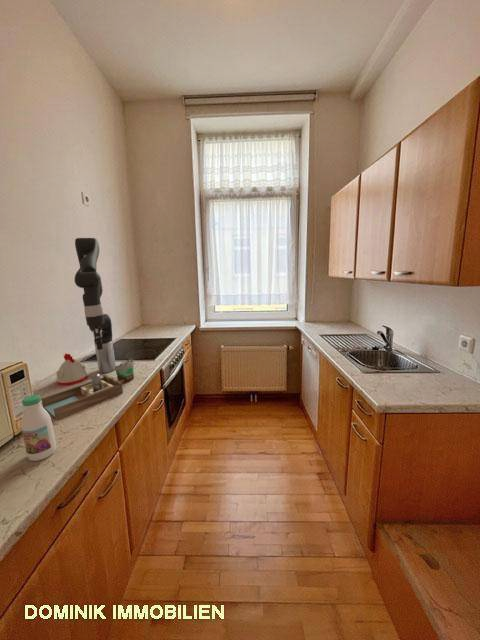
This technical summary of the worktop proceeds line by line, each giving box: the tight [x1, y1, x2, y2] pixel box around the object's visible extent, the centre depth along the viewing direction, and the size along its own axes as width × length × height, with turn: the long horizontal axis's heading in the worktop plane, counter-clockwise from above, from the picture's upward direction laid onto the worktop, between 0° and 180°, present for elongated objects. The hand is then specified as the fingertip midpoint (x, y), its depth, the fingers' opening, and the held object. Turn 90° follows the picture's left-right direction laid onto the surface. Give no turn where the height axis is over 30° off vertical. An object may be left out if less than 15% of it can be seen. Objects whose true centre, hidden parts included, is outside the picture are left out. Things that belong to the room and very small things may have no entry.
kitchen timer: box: [56, 352, 88, 387], centre depth 144 cm, size 14×14×15 cm
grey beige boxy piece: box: [80, 372, 113, 396], centre depth 126 cm, size 12×10×9 cm
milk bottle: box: [21, 394, 57, 462], centre depth 85 cm, size 8×8×20 cm
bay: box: [41, 374, 124, 421], centre depth 122 cm, size 16×28×6 cm, turn 142°
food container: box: [114, 357, 135, 384], centre depth 142 cm, size 12×6×10 cm, turn 168°
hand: (100, 347), depth 130 cm, fingers open, 8 cm apart
